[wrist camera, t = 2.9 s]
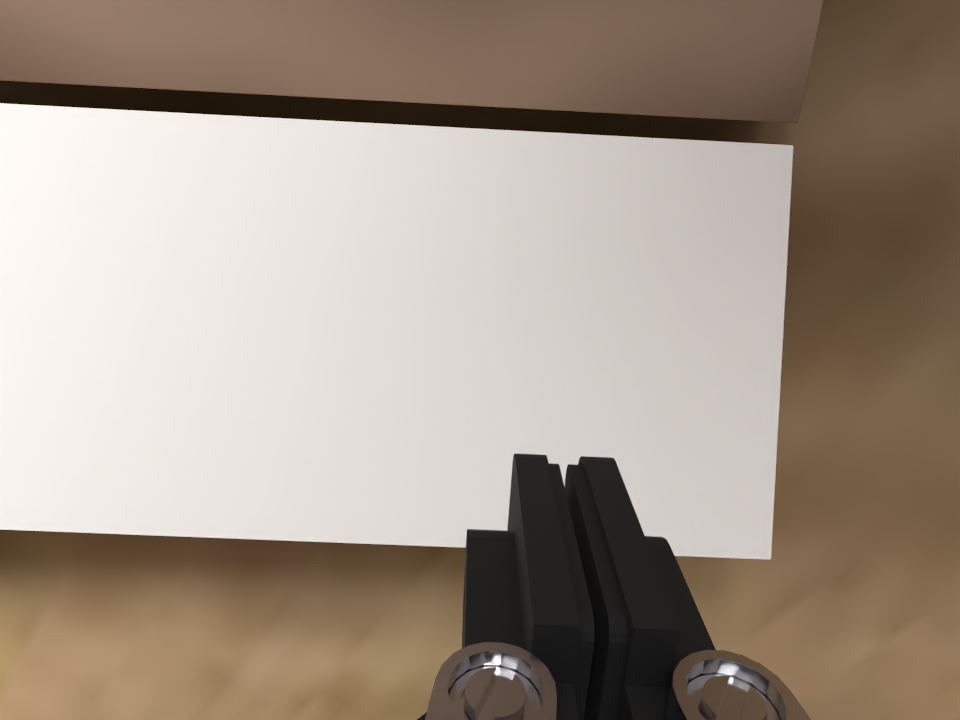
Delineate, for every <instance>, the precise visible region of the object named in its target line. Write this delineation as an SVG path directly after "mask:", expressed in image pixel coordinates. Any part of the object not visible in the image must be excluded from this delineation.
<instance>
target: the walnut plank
mask: <svg viewBox="0 0 960 720" xmlns="http://www.w3.org/2000/svg"><path fill="white" fill-rule="evenodd" d="M823 1H824V0H0V80H2V81H21V82H40V83H58V84H77V85H96V86H114V87H133V88H151V89H170V90H189V91H207V92H226V93H245V94H263V95H282V96H300V97H319V98H338V99H356V100H375V101H393V102H412V103H431V104H449V105H468V106H487V107H505V108H524V109H542V110H561V111H580V112H598V113H617V114H635V115H654V116H673V117H691V118H710V119H729V120H747V121H766V122H784V123H798V121H799V116H800V111H801V107H802V102H803V97H804V92H805V87H806V83H807V78H808V73H809V68H810V63H811V59H812V54H813V49H814V44H815V39H816V35H817V30H818V25H819V20H820V15H821V11H822V6H823Z"/></svg>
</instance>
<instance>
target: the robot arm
mask: <svg viewBox="0 0 960 720" xmlns="http://www.w3.org/2000/svg"><path fill="white" fill-rule="evenodd" d="M417 720H811V719H810V718H809V716H808V715H807V713H806V712H805V710H804V709H803V708H802V706H801V705H800V703H799V702H798V701H797V699H796V698H795V696H794V695H793V694H792V692H791V691H790V690H789V689H788V687H787V686H786V685H785V684H784V683H783V682H782V681H781V680H780V679H779V677H778V676H776V675H775V674H774V673H772V672H771V671H770V670H768V669H767V668H765V667H764V666H763V665H761V664H760V663H757V662H755V661H753V660H751V659H749V658H747V657H745V656H743V655H739V654H735V653H732V652H728V651H723V650H715V647H714V645H713V643H712V641H711V638H710V636H709V634H708V631H707V629H706V627H705V625H704V622H703V620H702V618H701V615H700V613H699V611H698V609H697V606H696V604H695V602H694V599H693V597H692V595H691V593H690V590H689V588H688V586H687V583H686V581H685V579H684V577H683V574H682V572H681V570H680V567H679V565H678V563H677V561H676V558H675V556H674V554H673V551H672V549H671V547H670V545H669V543H668V541H667V540H666V539H665V538H663V537H654V536H645V535H644V533H643V530H642V528H641V525H640V522H639V520H638V517H637V515H636V512H635V510H634V507H633V505H632V502H631V499H630V497H629V494H628V492H627V489H626V487H625V484H624V481H623V479H622V476H621V474H620V471H619V469H618V466H617V463H616V461H615V459H614V458H609V457H585V456H581V457H580V458H579V462H578V465H574V464H568V466H567V470H566V477H565V486H564V483H563V479H562V474H561V470H560V466H559V464H550V463H548V458H547V455H538V454H514V456H513V464H512V476H511V489H510V502H509V515H508V528H507V531H502V530H477V529H467V537H466V555H465V575H464V599H463V629H462V649H461V650H459V651H457V652H455V653H453V654H452V655H451V656H450V657H449V658H448V659H447V660H446V661H445V662H444V663H443V664H442V666H441V668H440V670H439V672H438V675H437V677H436V679H435V683H434V687H433V691H432V695H431V699H430V702H429V706H428V710H427V712H426V713H425V714H424V715H423V716H421V717H420V718H419V719H417Z"/></svg>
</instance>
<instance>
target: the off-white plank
mask: <svg viewBox="0 0 960 720" xmlns="http://www.w3.org/2000/svg"><path fill="white" fill-rule="evenodd" d="M792 162H793V145H778V144H759V143H740V142H722V141H703V140H684V139H665V138H646V137H627V136H608V135H589V134H570V133H552V132H533V131H514V130H495V129H476V128H457V127H438V126H419V125H401V124H382V123H363V122H344V121H325V120H306V119H287V118H268V117H249V116H231V115H212V114H193V113H174V112H155V111H136V110H117V109H98V108H80V107H61V106H42V105H23V104H4V103H0V529H1V530H26V531H52V532H78V533H103V534H129V535H155V536H180V537H206V538H232V539H257V540H283V541H308V542H334V543H360V544H385V545H411V546H437V547H462V548H466V537H467V529H477V530H502V531H507V528H508V515H509V502H510V489H511V476H512V464H513V456H514V454H538V455H547V458H548V463H550V464H559V466H560V470H561V474H562V479H563V483H564V486H565V477H566V470H567V466H568V464H574V465H578V462H579V458H580V457H581V456H585V457H609V458H614V459H615V461H616V463H617V466H618V469H619V471H620V474H621V476H622V479H623V481H624V484H625V487H626V489H627V492H628V494H629V497H630V499H631V502H632V505H633V507H634V510H635V512H636V515H637V517H638V520H639V522H640V525H641V528H642V530H643V533H644V535H645V536H654V537H663V538H665V539H666V540H667V541H668V543H669V545H670V547H671V549H672V551H673V554H674V556H693V557H719V558H744V559H770V560H771V547H772V529H773V511H774V492H775V474H776V456H777V437H778V419H779V401H780V382H781V364H782V346H783V327H784V309H785V291H786V272H787V254H788V236H789V217H790V199H791V180H792Z"/></svg>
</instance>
